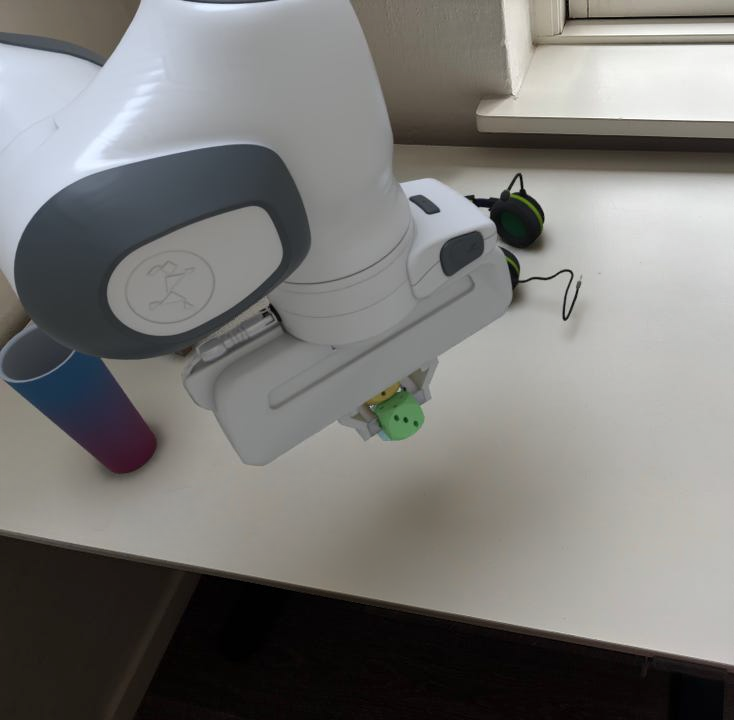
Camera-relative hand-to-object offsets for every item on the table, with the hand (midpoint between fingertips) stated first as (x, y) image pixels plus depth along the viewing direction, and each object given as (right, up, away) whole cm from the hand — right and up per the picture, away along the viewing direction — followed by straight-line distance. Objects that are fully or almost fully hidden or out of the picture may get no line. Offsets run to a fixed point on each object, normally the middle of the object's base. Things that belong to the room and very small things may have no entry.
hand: (393, 414), depth 50 cm
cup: (-28, -5, +19) cm, 34 cm away
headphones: (+8, +13, +28) cm, 32 cm away
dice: (0, -1, +3) cm, 3 cm away
